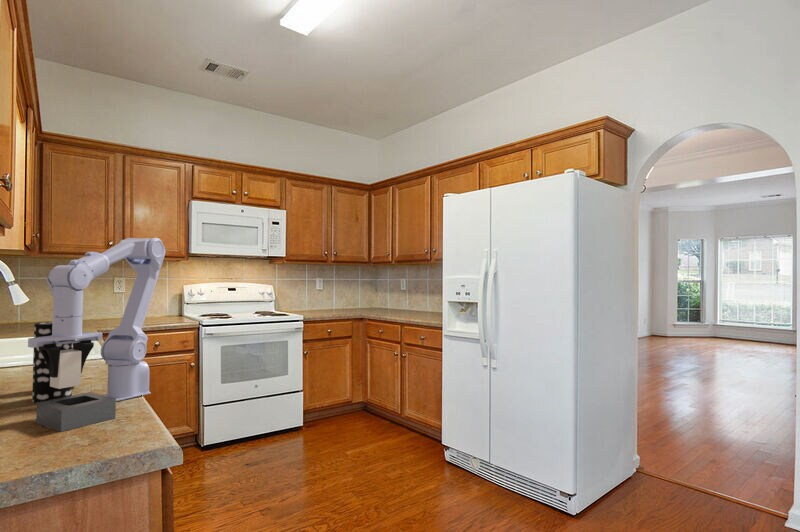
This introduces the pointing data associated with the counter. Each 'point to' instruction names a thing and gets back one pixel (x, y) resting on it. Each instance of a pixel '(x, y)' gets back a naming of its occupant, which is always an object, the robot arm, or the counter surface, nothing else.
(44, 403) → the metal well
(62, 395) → the spotted tube
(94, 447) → the counter surface
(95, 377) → the counter surface
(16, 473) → the counter surface
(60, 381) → the ivory block
